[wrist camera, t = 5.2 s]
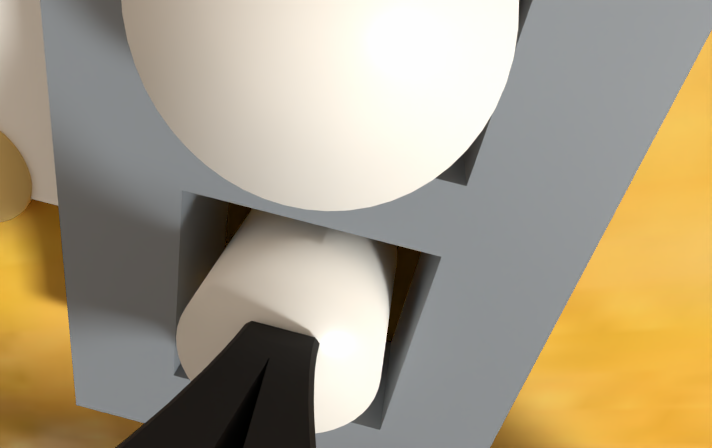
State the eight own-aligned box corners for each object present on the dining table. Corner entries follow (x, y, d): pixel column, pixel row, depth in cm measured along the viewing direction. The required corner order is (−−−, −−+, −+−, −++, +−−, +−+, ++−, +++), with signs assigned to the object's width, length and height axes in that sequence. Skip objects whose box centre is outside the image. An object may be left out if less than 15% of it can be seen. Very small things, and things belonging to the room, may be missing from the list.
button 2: (377, 328, 15) (356, 454, 11) (236, 292, 15) (172, 405, 11) (415, 203, 13) (404, 309, 9) (251, 162, 13) (180, 251, 9)
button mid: (446, 132, 10) (447, 247, 6) (235, 78, 10) (123, 163, 6) (527, -124, 8) (592, -157, 4) (260, -188, 8) (115, -271, 4)
